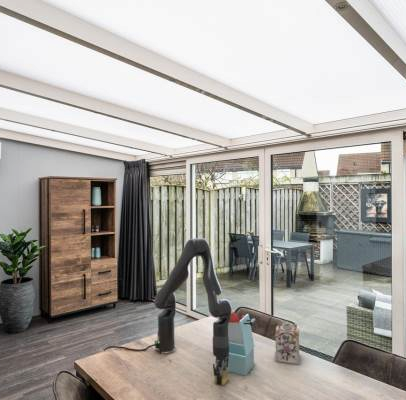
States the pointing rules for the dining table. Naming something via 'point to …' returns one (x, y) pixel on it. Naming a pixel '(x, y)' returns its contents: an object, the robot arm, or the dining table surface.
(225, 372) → the block
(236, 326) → the citrus juicer
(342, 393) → the dining table surface
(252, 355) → the box
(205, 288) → the robot arm
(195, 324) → the dining table surface
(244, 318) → the freezer lid
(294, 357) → the decorative jar
